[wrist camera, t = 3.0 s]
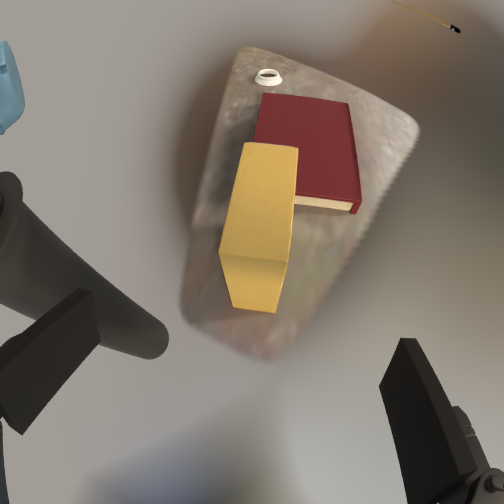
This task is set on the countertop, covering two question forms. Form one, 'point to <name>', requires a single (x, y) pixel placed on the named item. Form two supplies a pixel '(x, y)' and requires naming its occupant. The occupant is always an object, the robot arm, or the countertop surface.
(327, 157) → the big book
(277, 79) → the upside-down white bowl
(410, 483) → the robot arm
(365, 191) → the countertop surface
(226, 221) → the small book
